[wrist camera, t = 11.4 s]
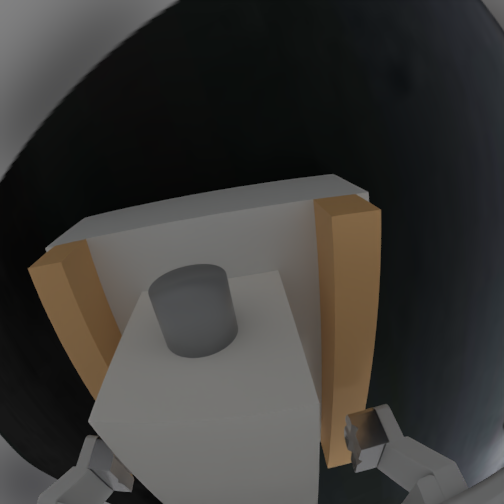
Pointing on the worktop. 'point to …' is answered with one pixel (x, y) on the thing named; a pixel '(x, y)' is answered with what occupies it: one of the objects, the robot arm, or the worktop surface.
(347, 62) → the worktop surface
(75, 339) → the white tray with rails
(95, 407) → the white block with knob
